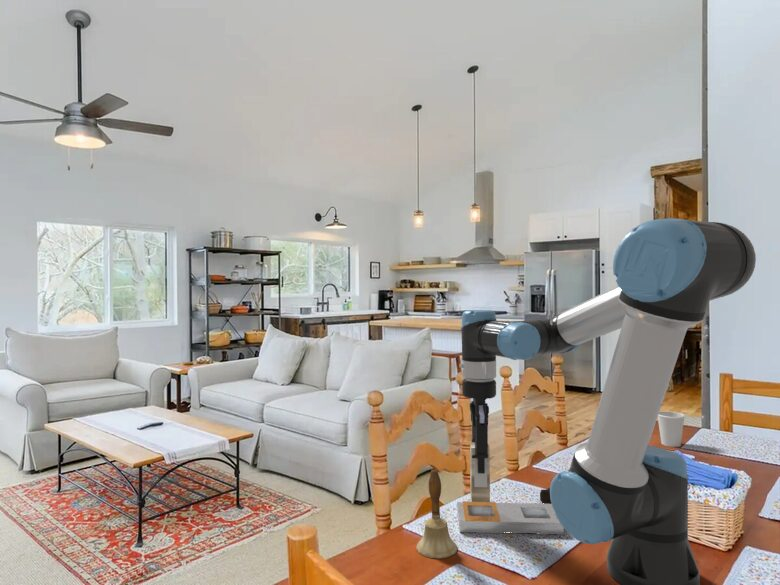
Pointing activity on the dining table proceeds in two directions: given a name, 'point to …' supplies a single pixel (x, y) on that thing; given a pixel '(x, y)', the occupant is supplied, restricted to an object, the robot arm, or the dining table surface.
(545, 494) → the hand tool
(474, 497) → the peg
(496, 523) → the grey board
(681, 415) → the dixie cup
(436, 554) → the hand bell
